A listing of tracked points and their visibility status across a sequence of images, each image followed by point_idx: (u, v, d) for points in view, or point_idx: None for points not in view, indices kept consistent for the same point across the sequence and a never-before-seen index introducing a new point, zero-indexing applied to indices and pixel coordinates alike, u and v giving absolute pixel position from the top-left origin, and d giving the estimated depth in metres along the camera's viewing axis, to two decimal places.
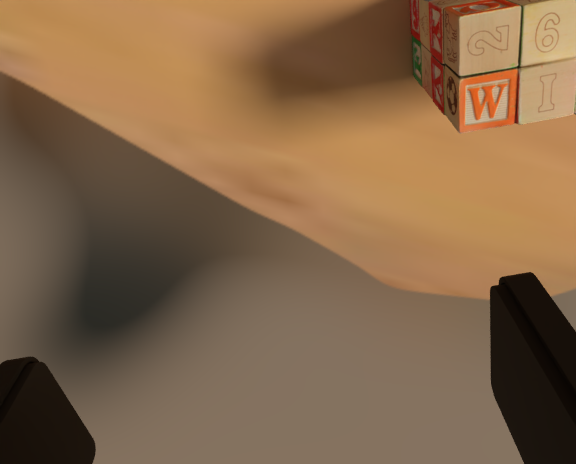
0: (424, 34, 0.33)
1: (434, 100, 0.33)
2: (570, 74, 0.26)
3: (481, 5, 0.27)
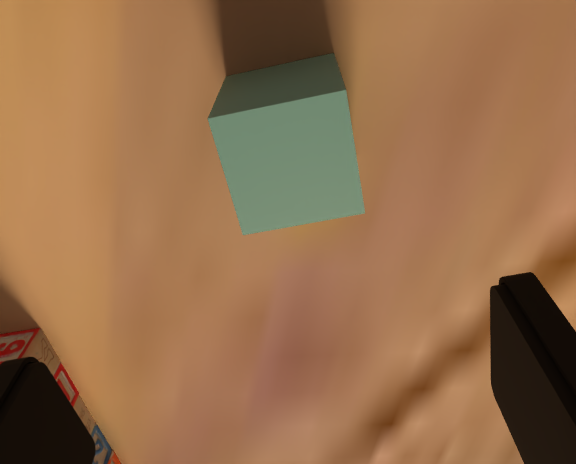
0: None
1: None
2: None
3: None
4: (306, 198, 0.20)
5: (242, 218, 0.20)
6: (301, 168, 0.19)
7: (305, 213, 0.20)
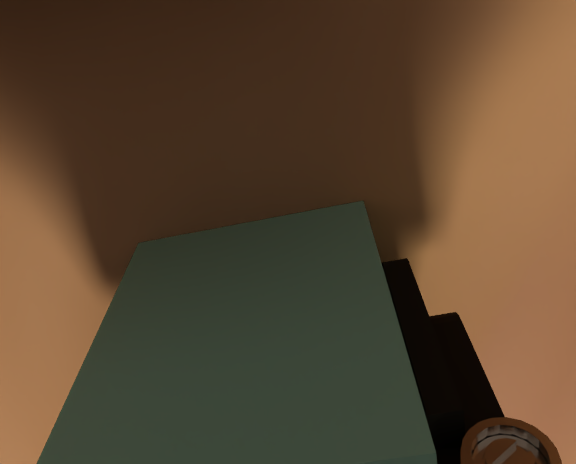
0: None
1: None
2: None
3: None
4: None
5: None
6: None
7: None
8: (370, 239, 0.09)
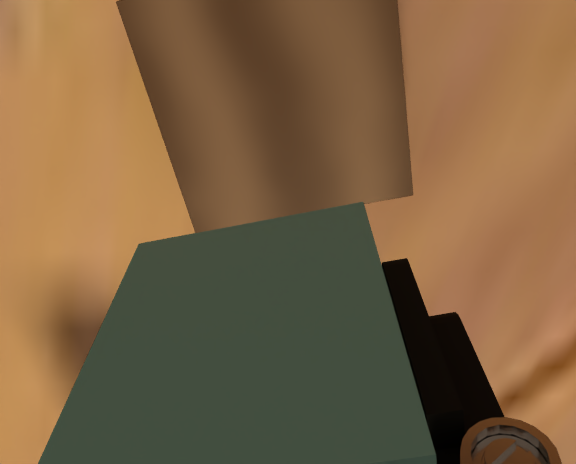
0: None
1: None
2: None
3: None
4: None
5: None
6: None
7: None
8: (370, 240, 0.09)
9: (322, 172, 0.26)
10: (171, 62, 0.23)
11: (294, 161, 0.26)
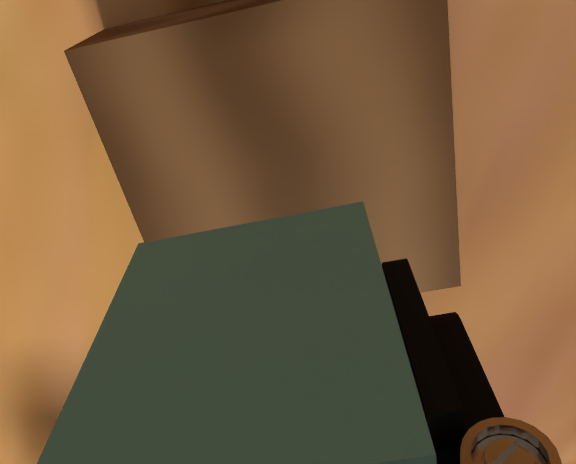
0: None
1: None
2: None
3: None
4: None
5: None
6: None
7: None
8: (370, 240, 0.09)
9: None
10: (143, 128, 0.17)
11: None
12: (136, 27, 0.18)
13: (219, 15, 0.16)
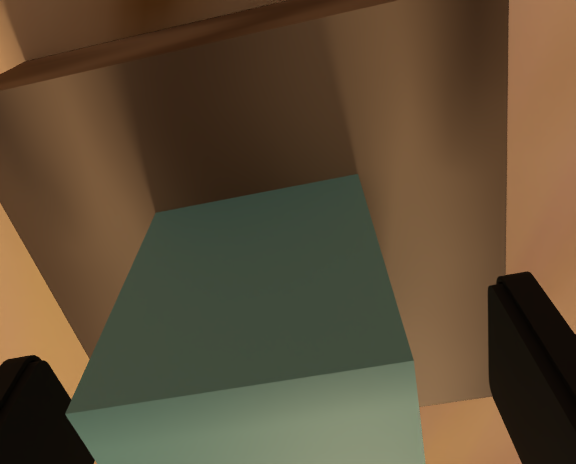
0: None
1: None
2: None
3: None
4: None
5: None
6: None
7: None
8: (363, 205, 0.11)
9: None
10: (69, 206, 0.12)
11: None
12: (60, 63, 0.13)
13: (170, 52, 0.11)
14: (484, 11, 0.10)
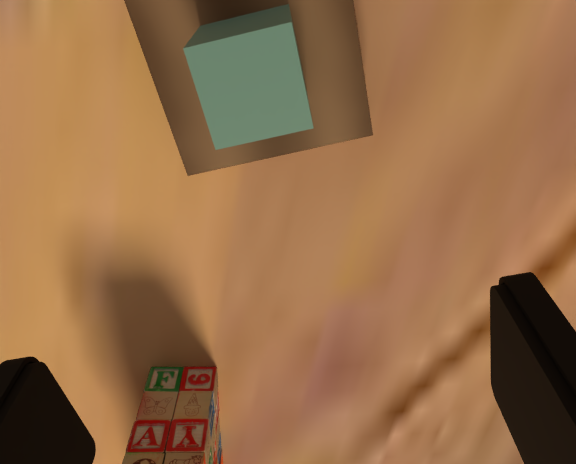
0: (185, 405, 0.43)
1: (135, 426, 0.41)
2: None
3: None
4: (265, 116, 0.25)
5: (214, 135, 0.25)
6: (260, 89, 0.24)
7: (265, 130, 0.25)
8: (288, 8, 0.26)
9: None
10: (162, 23, 0.28)
11: None
12: None
13: None
14: None
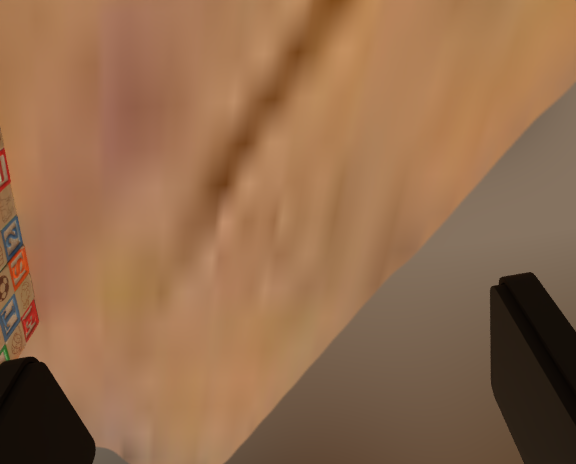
0: None
1: None
2: None
3: None
4: None
5: None
6: None
7: None
8: None
9: None
10: None
11: None
12: None
13: None
14: None
